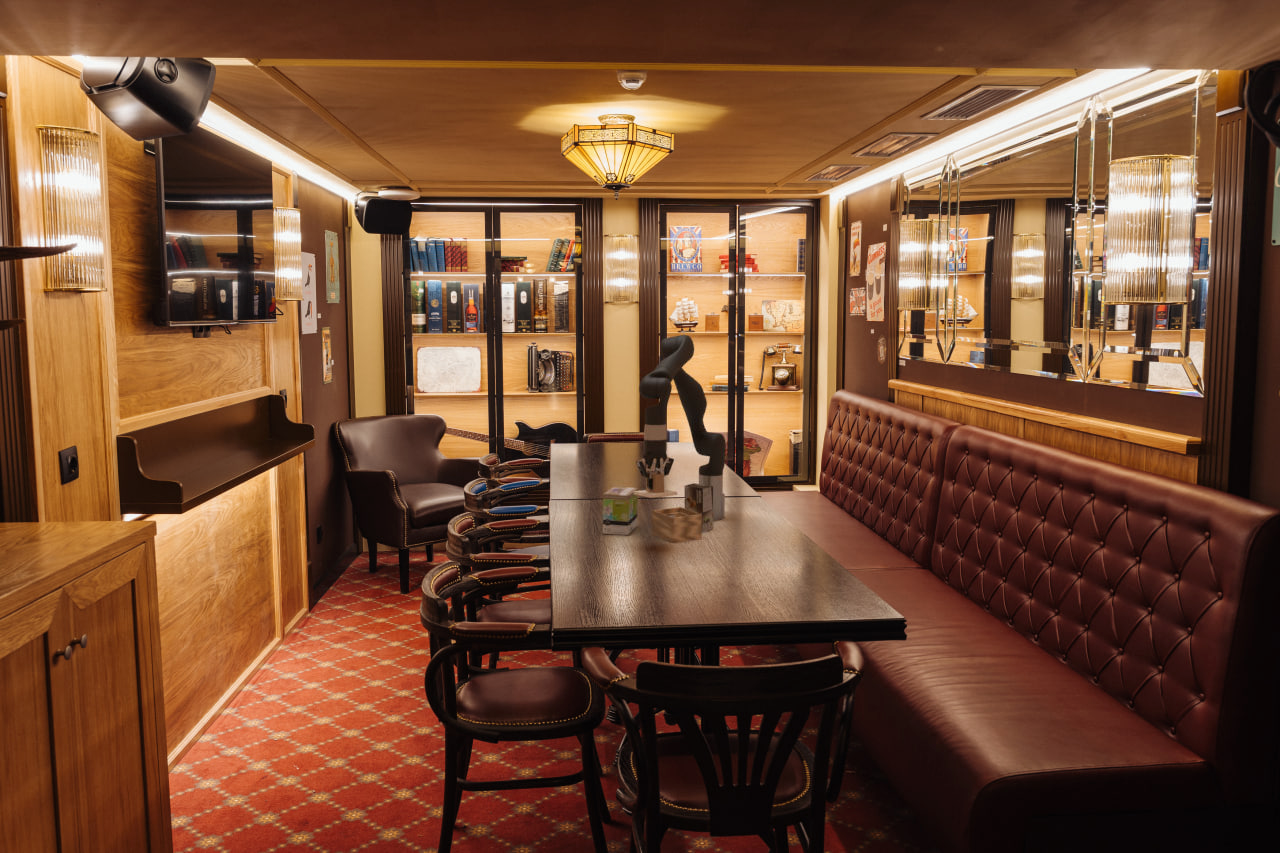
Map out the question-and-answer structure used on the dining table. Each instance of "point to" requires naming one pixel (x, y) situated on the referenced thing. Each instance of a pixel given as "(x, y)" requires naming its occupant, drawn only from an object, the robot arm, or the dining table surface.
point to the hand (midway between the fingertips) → (655, 488)
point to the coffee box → (700, 503)
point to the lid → (656, 488)
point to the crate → (677, 524)
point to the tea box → (620, 510)
